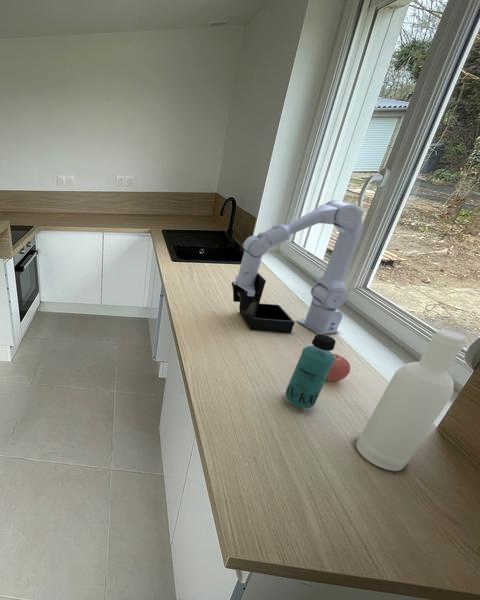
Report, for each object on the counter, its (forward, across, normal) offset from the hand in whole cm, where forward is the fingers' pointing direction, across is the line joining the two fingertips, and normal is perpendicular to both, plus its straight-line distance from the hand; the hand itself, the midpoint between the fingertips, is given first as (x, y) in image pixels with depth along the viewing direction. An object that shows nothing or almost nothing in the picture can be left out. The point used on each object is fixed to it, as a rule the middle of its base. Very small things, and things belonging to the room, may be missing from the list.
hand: (239, 306), depth 117 cm
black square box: (+6, 0, +10) cm, 11 cm away
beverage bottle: (+6, +43, +3) cm, 44 cm away
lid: (-6, 0, +4) cm, 7 cm away
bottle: (+6, +56, +13) cm, 58 cm away
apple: (+6, +31, +16) cm, 35 cm away
